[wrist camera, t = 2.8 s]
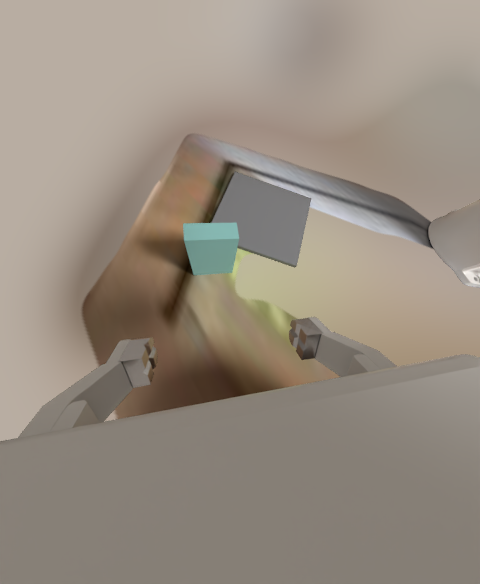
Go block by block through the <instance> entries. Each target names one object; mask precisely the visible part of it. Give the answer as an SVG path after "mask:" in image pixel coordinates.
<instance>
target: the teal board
mask: <svg viewBox="0 0 480 584" xmlns="http://www.w3.org/2000/svg"><path fill="white" fill-rule="evenodd" d="M183 229H184V242H185V246H186V249H187V253H188V257H189V260H190V264H191V267H192V271H193V274H194V275H205V274H219V273H232V270H233V266H234V261H235V256H236V251H237V247H238V242H239V234H238V228H237V223H189V224H183Z"/></svg>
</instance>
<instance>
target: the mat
mask: <svg viewBox="0 0 480 584" xmlns="http://www.w3.org/2000/svg"><path fill="white" fill-rule="evenodd" d="M310 202H311V198H308V197H305V196H303V195H300V194H297V193H294V192H291V191H288V190H286V189H283V188H280V187H277V186H274V185H272V184H269V183H266V182H263V181H260V180H257V179H255V178H252V177H249V176H246V175H243V174H240V173H238V172H235V173H234V175H233V177H232V179H231V182H230V184H229V186H228V188H227V190H226V192H225V195H224V197H223V199H222V201H221V203H220V205H219V207H218V210H217V212H216V214H215V216H214V218H213V220H212V222H211V223H237V228H238V234H239V242H238V247H237V248H240V249H243V250H246V251H249V252H252V253H254V254H257V255H260V256H263V257H266V258H269V259H272V260H275V261H278V262H281V263H283V264H286V265H289V266H292V267H296V266H297V261H298V257H299V252H300V248H301V243H302V239H303V234H304V229H305V225H306V220H307V216H308V211H309V206H310Z"/></svg>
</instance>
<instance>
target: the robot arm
mask: <svg viewBox="0 0 480 584" xmlns="http://www.w3.org/2000/svg"><path fill="white" fill-rule="evenodd" d="M428 234H429V239H430V242H431V244H432V247H433V248H434V250H435V252H436V253H437V254H438V256H439V257H440V258H441V259H442V260H443V261H444V262H445V263H446V264H447V265H448V266H449V267H450V268H451V269H452V270H453V271H454V272H455V273H456V275H457V277H458V278H459V279H460V281H461V282H462V283H463V284H465V285H467V286H472V287H478V288H480V199H479V200H477V201H476V202H474V203H471V204H469V205H467V206H465V207H463V208H461V209H459V210H454V211H452V212H450V213H448V214H447V215H446V216H443V217H440V218H438V219H435V220H434V221H432V222H431V224H430V226H429V230H428ZM290 326H291V327H292V329H291V330H290V331H289V339H290V342H291V344H292V346H293V347H295V348H297V350H296V352H297V354H298V355H299V357H300V358H301V360H304V359H312V358H315V359H316V360H317V361H319V362H320V363H322V364H323V365H325V366H326V367H328V368H329V369H330V370H332V371H333V372H335V373H336V374H338V375H339V376H341V377H339V378H334V379H329V380H323V381H318V382H313V383H307V384H302V385H297V386H291V387H286V388H281V389H275V390H270V391H265V392H260V393H254V394H249V395H244V396H238V397H233V398H228V399H222V400H217V401H212V402H207V403H201V404H196V405H191V406H185V407H180V408H175V409H169V410H164V411H159V412H154V413H148V414H143V415H138V416H132V417H127V418H122V419H116V420H112V421H106V422H104V421H105V420H106V418H107V417H108V416H109V415H110V414H111V413H112V412H113V411H114V409H115V408H116V407H117V406H118V405H119V404H120V403H121V401H122V400H123V399H124V398H125V397H126V396H127V395H128V394H129V392H130V391H131V390H132V389H133V388H135V387H140V386H145V385H151V382H152V378H153V375H154V372H153V369H154V368H155V367H156V364H157V357H158V356H157V350H156V348H154V347H153V345H154V340H153V338H152V337H145V338H135V339H127V340H121V341H119V343H118V344H117V346H116V348H115V349H114V351H113V353H112V354H111V356H110V357H109V359H108V361H107V362H106V364H102V365H101V366H99V367H98V368H96V369H95V370H94V371H92V372H91V373H89V374H88V375H87V376H85V377H84V378H82V379H81V380H79V381H78V382H77V383H75V384H74V385H72V386H71V387H69V388H68V389H67V390H65V391H64V392H62V393H61V394H59V395H58V396H57V397H55V398H54V399H52V400H51V401H49V402H48V403H47V404H45V405H44V406H43V407H42V408H41V409H40V411H39V412H38V413H37V414H36V416H35V417H34V418H33V419H32V421H31V422H30V423H29V424H28V426H27V427H26V428H25V429H24V431H23V432H22V433H21V434H20V436H19V437H18V438H16V439H11V440H5V441H0V584H480V357H476V356H472V355H466V354H465V355H455V356H450V357H445V358H440V359H435V360H429V361H424V362H419V363H414V364H408V365H403V366H396V365H395V364H394V363H392V362H391V361H390V360H389V359H388V358H387V357H385V356H384V355H383V354H382V353H380V352H379V351H378V350H376V349H373V348H371V347H368V346H366V345H363V344H361V343H359V342H356V341H354V340H352V339H349V338H347V337H345V336H342V335H340V334H337V333H335V332H331V331H330V330H329V329H328V328H327V327H326V326H324V324H323V323H322V322H321V321H320V320H319V319H318V318H316V317H309V318H303V319H296V320H292V321H291V324H290Z"/></svg>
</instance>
